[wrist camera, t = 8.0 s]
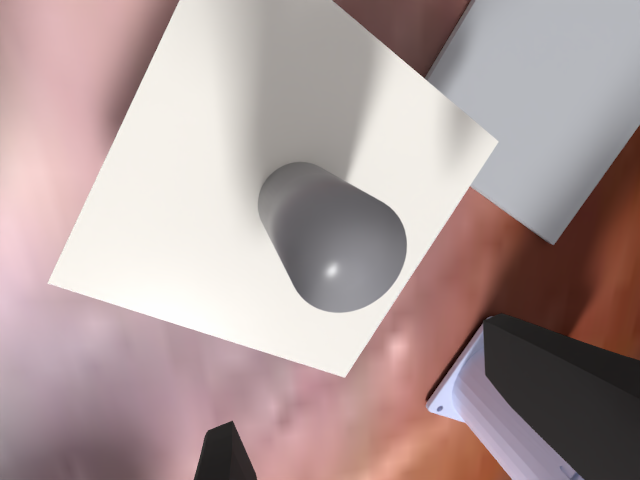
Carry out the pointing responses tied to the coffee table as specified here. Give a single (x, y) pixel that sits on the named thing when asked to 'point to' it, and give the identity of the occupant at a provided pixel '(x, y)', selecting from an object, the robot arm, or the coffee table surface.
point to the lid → (273, 181)
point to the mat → (545, 98)
